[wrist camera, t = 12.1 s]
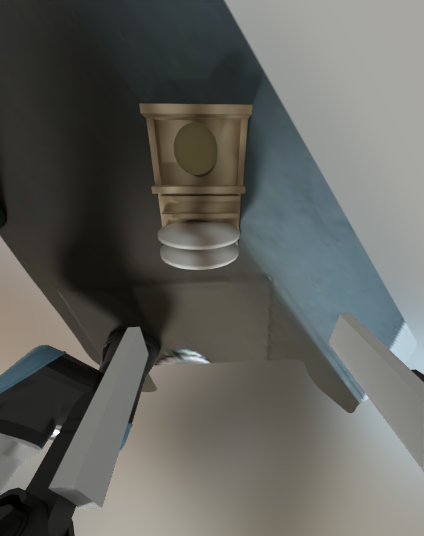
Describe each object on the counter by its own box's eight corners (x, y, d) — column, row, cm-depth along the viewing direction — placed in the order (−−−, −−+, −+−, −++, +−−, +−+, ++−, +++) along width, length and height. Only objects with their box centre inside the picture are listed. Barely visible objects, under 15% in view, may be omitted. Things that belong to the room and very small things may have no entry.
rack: (166, 246, 38) (146, 283, 26) (148, 113, 27) (101, 66, 15) (236, 246, 38) (250, 282, 26) (246, 114, 28) (277, 68, 15)
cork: (219, 173, 31) (225, 174, 21) (185, 179, 31) (175, 183, 21) (214, 130, 28) (218, 108, 18) (176, 137, 28) (160, 119, 18)
